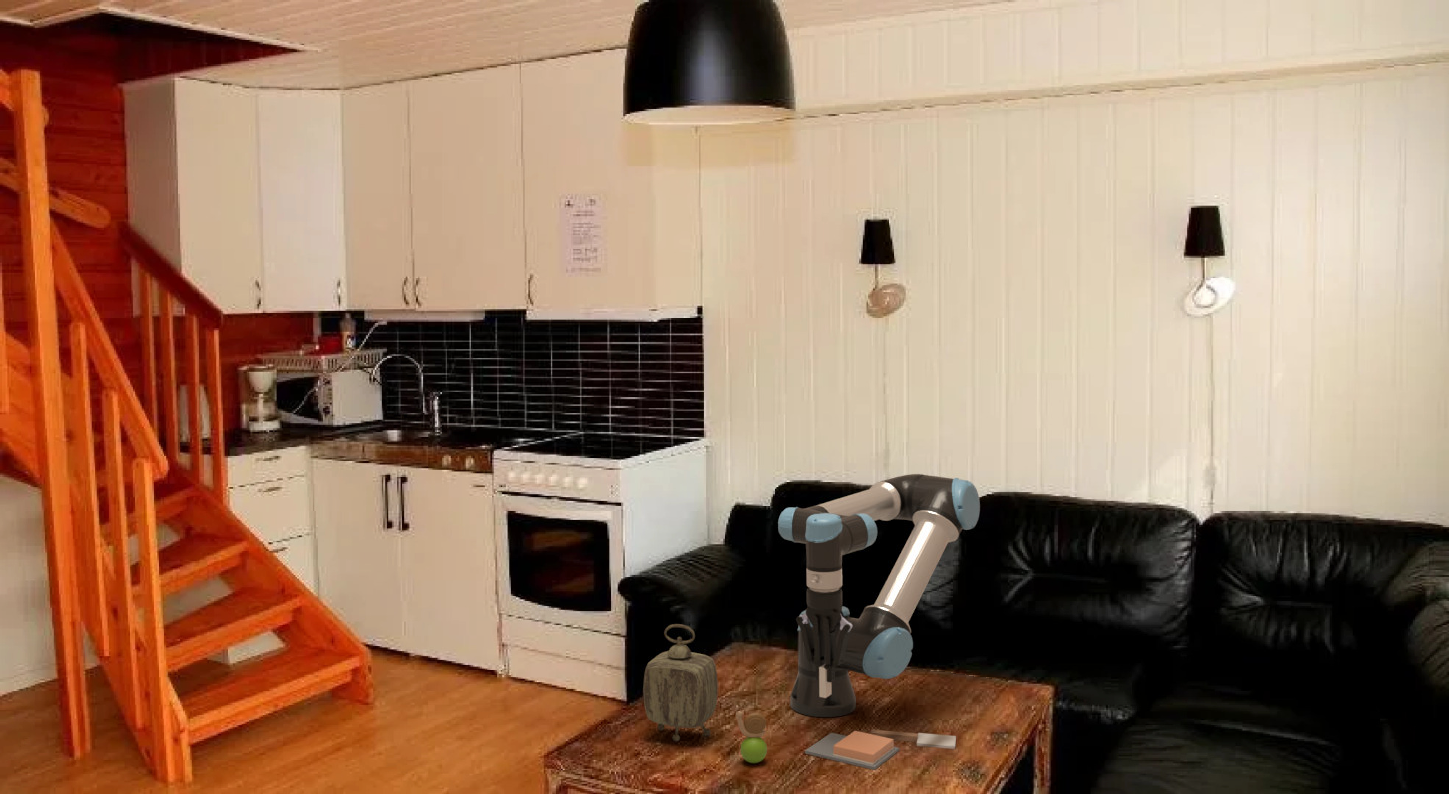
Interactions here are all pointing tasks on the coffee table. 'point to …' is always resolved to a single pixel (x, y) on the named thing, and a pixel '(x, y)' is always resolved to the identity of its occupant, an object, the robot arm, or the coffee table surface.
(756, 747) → the snail figurine
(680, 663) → the tabletop clock
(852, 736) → the tile
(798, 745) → the coffee table surface
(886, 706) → the coffee table surface
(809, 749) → the mat
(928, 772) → the coffee table surface
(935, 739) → the turner
